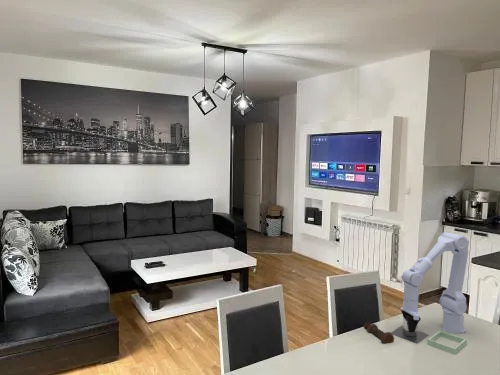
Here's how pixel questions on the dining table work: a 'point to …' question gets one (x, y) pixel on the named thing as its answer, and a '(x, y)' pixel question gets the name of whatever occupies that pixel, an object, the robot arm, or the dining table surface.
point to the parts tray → (446, 348)
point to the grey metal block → (405, 328)
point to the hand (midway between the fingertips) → (409, 329)
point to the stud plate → (413, 339)
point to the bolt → (379, 333)
